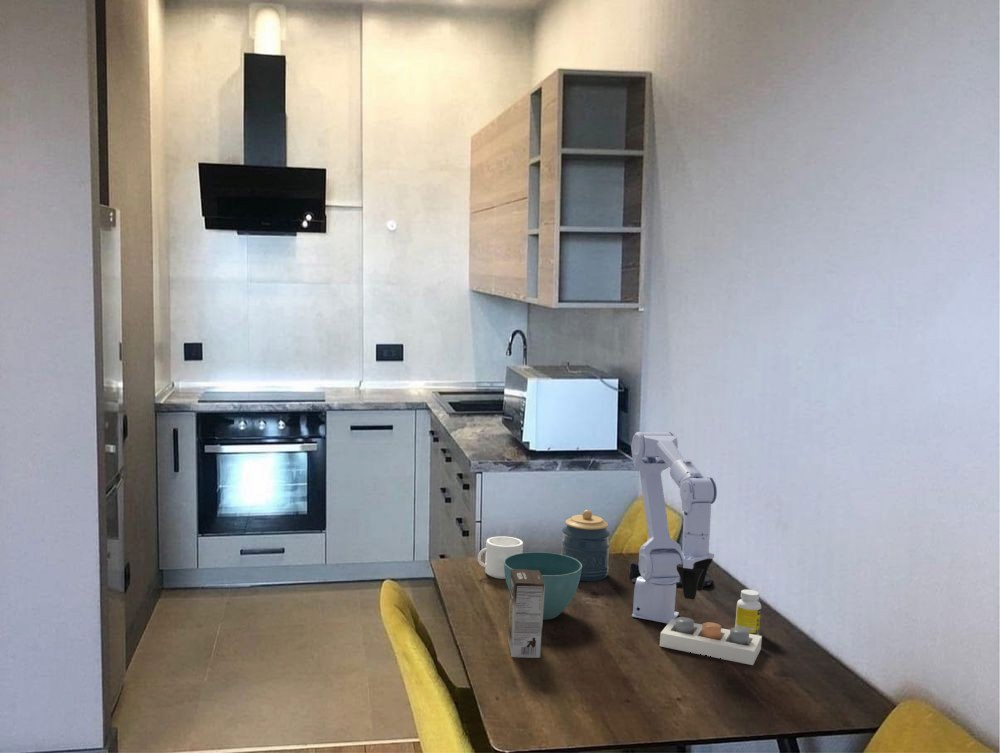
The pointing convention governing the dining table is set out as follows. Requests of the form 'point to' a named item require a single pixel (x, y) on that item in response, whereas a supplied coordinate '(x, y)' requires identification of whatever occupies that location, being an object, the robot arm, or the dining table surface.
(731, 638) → the right grey button
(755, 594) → the supplement bottle
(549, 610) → the teal bowl
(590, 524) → the canister
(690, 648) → the button panel
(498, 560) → the mug
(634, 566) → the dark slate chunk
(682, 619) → the left grey button
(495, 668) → the dining table surface
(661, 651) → the dining table surface
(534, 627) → the coffee box
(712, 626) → the orange rounded dome
